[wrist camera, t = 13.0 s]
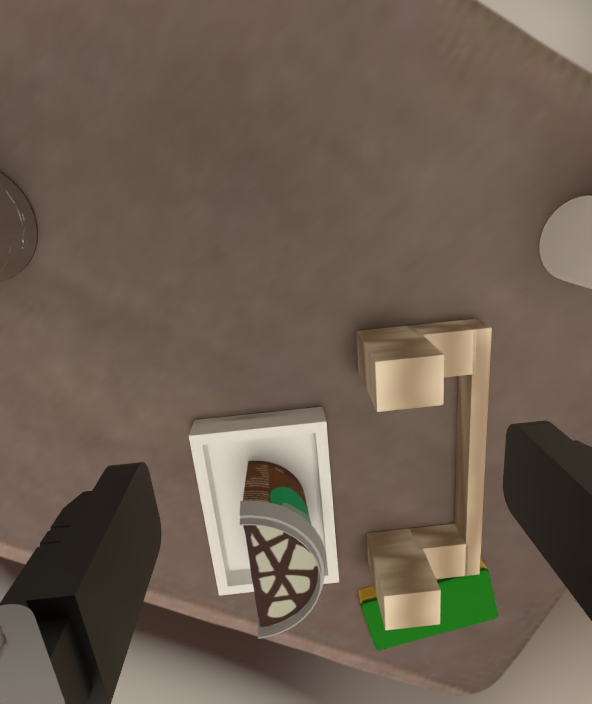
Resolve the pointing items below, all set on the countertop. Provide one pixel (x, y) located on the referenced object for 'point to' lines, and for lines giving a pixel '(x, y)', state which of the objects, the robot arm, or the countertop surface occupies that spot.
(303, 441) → the tray
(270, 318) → the countertop surface
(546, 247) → the cylindrical container
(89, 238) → the countertop surface
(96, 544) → the robot arm
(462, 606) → the dish sponge
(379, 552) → the holder
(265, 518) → the food container
